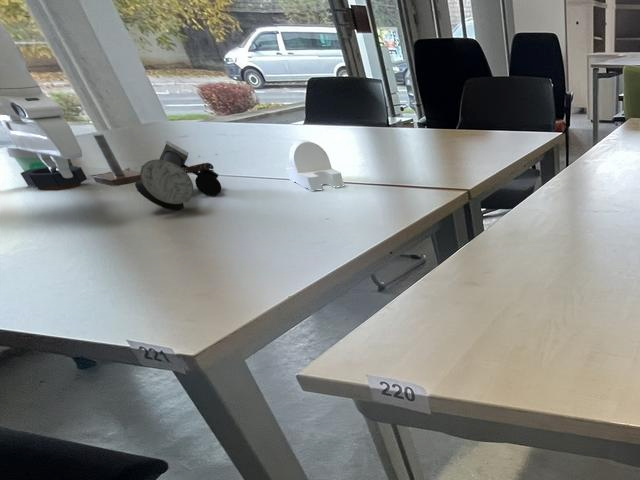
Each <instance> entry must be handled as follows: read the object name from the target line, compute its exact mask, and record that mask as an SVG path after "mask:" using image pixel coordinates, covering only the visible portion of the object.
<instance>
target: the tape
mask: <svg viewBox="0 0 640 480" xmlns="http://www.w3.org/2000/svg"><path fill="white" fill-rule="evenodd" d="M69 169H70V171H71V173H72V175H73V177H71V178H63V177H61V176H60V175H59V173H58V172H55V173H51V171H50V170H49V168H48V167H42V168H36V169H30V170H27V171H24V170H23V171H22V172H20V175H21V177H22V179H23V180H24V181H25V184H26V185H27V186H28V187H33V188H37V189H38V188H42V187H59V186H66V185H72V184H78V183H81V184H82V183H83V182H85V181H87V180H88V178H87V176H86V174H85V172H84V171H83V169H82V167H81V166H76V165H73V166H69Z"/></svg>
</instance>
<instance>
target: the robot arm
mask: <svg viewBox="0 0 640 480" xmlns="http://www.w3.org/2000/svg"><path fill="white" fill-rule="evenodd" d="M30 73H31V72H29V69H28V68H27V64H26V60H25V58H24V55H23V53H22V51H21V49H20V48H19V47H18V45H17V44H16V42H15V41H14V39H13V37H12V36H11V34H10V32H9V31H8V30H7V28H6V27H5V26H4V25H3V23H2V21H0V124H1V126H2V127H3V130H4V131H5V133H6V135H7V136H8V138H9V140H10V142H11V143H12V144H13V145H14V146H15V148H16V149H20V150H24V151H29V152H34V153H37V155H38V157H39V158H40V159H41V160H42V161H43V163H44V164H45V165H46V166H47V167H48V168H49V170H50V171H51V173H55V172H58V173H59V175H60V176H61V177H63V178H71V177H73V175H72V173H71V171H70V169H69V165H68V160H67V159H70V160H71V159H73V160H74V159H78V158H82V157H83V152H82V148H81V146H80V144H79V142H78V139H77V138H76V135H75V133H74V132H73V130H72V128H71V126H70V125H69V123H68V121H67V120H66V119H65V118H64V116H66V114H65V111H64V109H63V107H62V106H61V104H60V103H58V102H56V101H55V100H53V99H52V98H50V97H49V96H48V95H47V94H45V93H44V92H43V91H42V89H41V87H40V85H39V83H38V82H37V81H36V80H35V78H34V77H33V76H32V75H31V74H30Z"/></svg>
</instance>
